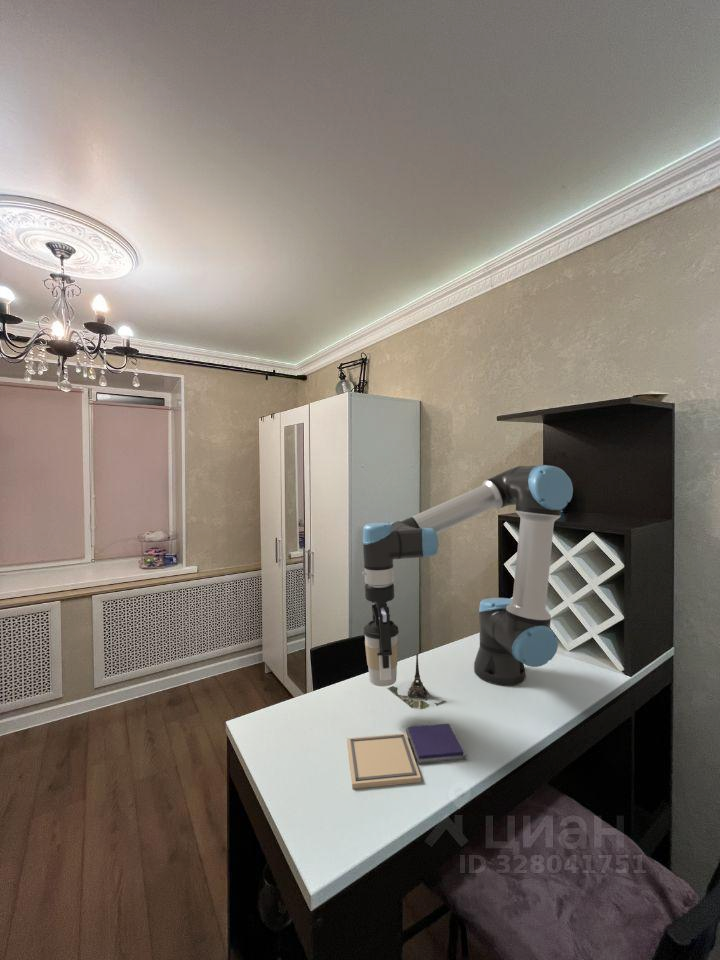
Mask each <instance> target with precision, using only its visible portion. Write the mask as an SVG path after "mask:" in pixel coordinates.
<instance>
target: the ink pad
mask: <svg viewBox="0 0 720 960" xmlns="http://www.w3.org/2000/svg"><path fill="white" fill-rule="evenodd" d="M405 733H406V735H407V738H408V741H409V744H410V747H411V750H412V753H413V756H414V759H415V762H416V765H425V764H434V763H435V764H436V763H445V762H458V761H466V760H467V754H466V752H465V750H464V748H463V746H462V744H461V742H460V741H459V739H458V737H457V734H456V733H455V731H454V729H453V726H452V725H451V724H450V723H440V724H438V723H437V724H427V725H415V726H414V725H413V726H408V727H406V728H405Z"/></svg>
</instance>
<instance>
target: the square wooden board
mask: <svg viewBox="0 0 720 960" xmlns="http://www.w3.org/2000/svg"><path fill="white" fill-rule="evenodd" d="M346 740H347V741H346V742H347V752H348V759H349V761H348V762H349V769H350V771H349V772H350V777H351V778H350V779H351V787H352V788H351V789H352V790H354V789H355V790H357V789H364V788H365V789H367V788H376V787H385V786H393V785H404V784H405V785H406V784H414V783H415V784H416V783H421V782H422V777H421V776H422V775H421V773H420V772H419V768H418V764H417V762H416V759H415V756H414V753H413V750H412V748H411V745H410V742H409V739H408V736H407V733H406V732H404V733H403V732H402V733H393V734H380V735H367V736H359V737H358V736H354V737H347V738H346Z"/></svg>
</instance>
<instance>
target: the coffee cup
mask: <svg viewBox="0 0 720 960" xmlns="http://www.w3.org/2000/svg"><path fill="white" fill-rule="evenodd" d="M399 631H400V630H399V627H398V625H397V624H395V623H394V621H392V620H390V634H391V648H392V655H390V656H391V680H382V681H381V680H380V663H379V656H378V655H377V653H380V646H379V633H378V626H376V624H375V620H373V619H372V620H370V621H369V622H367V624H366V625H365V626H364V627H363V635H364V646H365V656H366V664H367V666H368V668H367V669H368V677H369V682H370V683H371V684H372V685H374V686H377V687H391V686H393V685H394V684H395V683H396V682H397V674H398V673H397V671H398V670H397V668H398V657H399V656H398V655H399V653H398V652H399V641H398V640H399V639H398V638H399V637H398V636H399Z"/></svg>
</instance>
